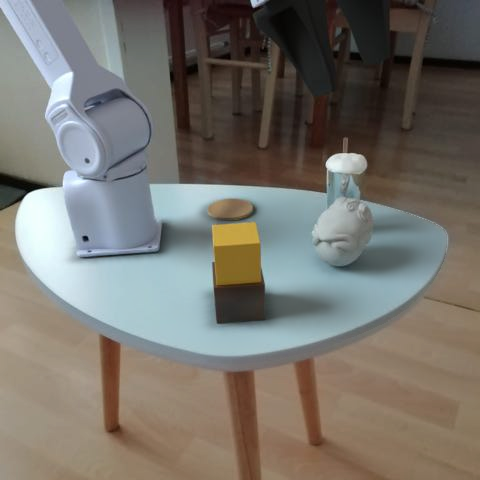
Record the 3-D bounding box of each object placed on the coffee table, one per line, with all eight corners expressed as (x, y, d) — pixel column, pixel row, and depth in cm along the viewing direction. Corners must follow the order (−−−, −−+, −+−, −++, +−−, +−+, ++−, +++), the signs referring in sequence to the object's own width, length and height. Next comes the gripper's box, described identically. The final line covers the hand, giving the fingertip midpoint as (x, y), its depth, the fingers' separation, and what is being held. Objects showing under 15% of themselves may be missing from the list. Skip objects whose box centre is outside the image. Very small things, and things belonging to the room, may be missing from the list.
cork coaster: (208, 222, 63) (208, 219, 63) (207, 202, 68) (207, 200, 67) (254, 218, 63) (254, 216, 63) (250, 199, 68) (250, 197, 68)
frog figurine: (381, 259, 54) (390, 199, 49) (342, 285, 50) (348, 222, 46) (336, 241, 57) (341, 184, 53) (297, 264, 54) (299, 204, 49)
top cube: (216, 285, 44) (213, 246, 41) (215, 263, 47) (212, 224, 44) (261, 282, 44) (260, 242, 41) (256, 259, 47) (255, 221, 45)
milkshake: (357, 218, 62) (366, 137, 56) (361, 238, 58) (371, 153, 52) (320, 217, 62) (325, 137, 56) (322, 237, 58) (327, 153, 52)
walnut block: (216, 323, 46) (213, 287, 43) (215, 295, 50) (212, 261, 47) (265, 319, 46) (265, 284, 44) (260, 292, 50) (259, 258, 47)
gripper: (268, -149, 27) (342, 96, 33) (399, -173, 34) (441, 33, 40) (196, -82, 33) (271, 119, 39) (322, -114, 40) (369, 60, 46)
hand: (353, 77), depth 40 cm, fingers open, 7 cm apart
